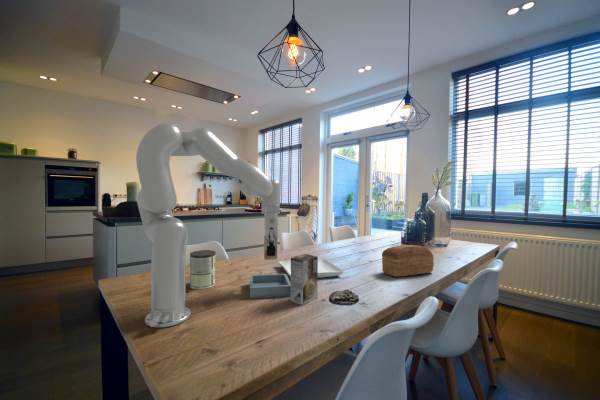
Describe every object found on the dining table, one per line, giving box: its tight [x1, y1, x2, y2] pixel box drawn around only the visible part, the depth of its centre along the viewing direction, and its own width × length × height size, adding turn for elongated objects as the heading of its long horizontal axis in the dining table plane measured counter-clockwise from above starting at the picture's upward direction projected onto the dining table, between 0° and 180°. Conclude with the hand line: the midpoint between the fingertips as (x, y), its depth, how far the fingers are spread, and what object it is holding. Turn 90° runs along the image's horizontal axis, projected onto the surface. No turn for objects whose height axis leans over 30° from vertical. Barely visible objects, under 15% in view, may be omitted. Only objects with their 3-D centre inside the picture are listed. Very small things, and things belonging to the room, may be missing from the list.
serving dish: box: [249, 273, 291, 299], centre depth 107 cm, size 16×16×4 cm
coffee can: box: [189, 249, 216, 290], centre depth 111 cm, size 10×10×14 cm
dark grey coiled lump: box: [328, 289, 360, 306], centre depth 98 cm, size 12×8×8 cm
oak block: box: [263, 235, 278, 261], centre depth 107 cm, size 5×5×9 cm
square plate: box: [277, 258, 345, 279], centre depth 134 cm, size 27×27×4 cm
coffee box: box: [289, 253, 319, 306], centre depth 97 cm, size 9×6×16 cm
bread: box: [381, 244, 434, 278], centre depth 134 cm, size 12×28×14 cm, turn 112°
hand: (270, 253), depth 107 cm, fingers closed on oak block, 5 cm apart
